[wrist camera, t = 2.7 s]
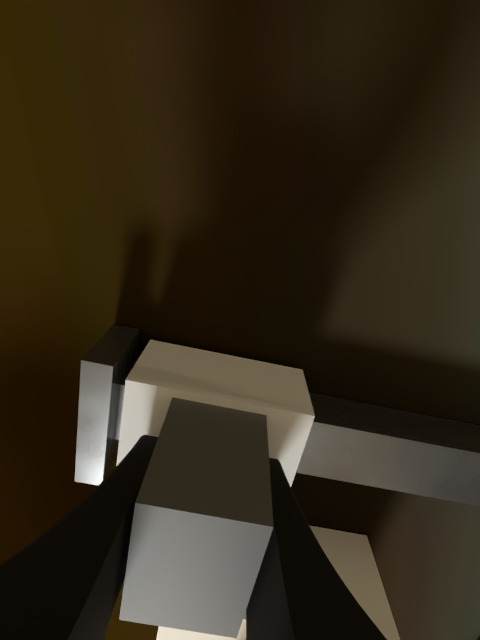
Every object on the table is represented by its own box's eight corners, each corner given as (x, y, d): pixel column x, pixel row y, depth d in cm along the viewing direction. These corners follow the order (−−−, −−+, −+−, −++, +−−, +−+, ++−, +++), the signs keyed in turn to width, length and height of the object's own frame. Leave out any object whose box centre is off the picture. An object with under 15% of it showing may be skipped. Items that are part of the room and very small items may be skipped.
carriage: (302, 369, 14) (344, 528, 8) (274, 460, 16) (290, 654, 10) (150, 339, 14) (64, 479, 8) (137, 435, 16) (58, 617, 9)
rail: (551, 411, 15) (619, 464, 12) (496, 500, 17) (544, 564, 14) (114, 324, 14) (81, 360, 12) (105, 428, 16) (74, 481, 13)
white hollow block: (366, 535, 18) (401, 644, 14) (320, 634, 21) (338, 750, 17) (183, 503, 18) (163, 606, 13) (162, 609, 20) (139, 720, 16)
